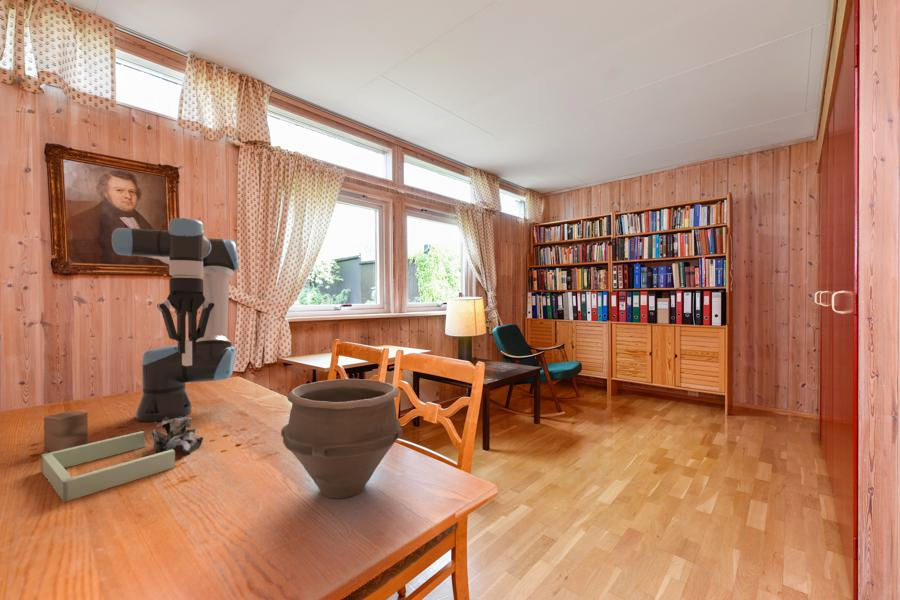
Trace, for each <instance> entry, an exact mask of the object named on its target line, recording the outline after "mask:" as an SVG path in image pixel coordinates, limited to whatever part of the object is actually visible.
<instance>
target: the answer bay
mask: <svg viewBox="0 0 900 600" xmlns="http://www.w3.org/2000/svg"><path fill="white" fill-rule="evenodd" d="M145 433H146V431H143V430H141V431H137V432H132V433H128V434H123V435H120V436H115V437H110V438H107V439H103V440H98V441H94V442H90V443H89V442H88V444H85V445H80V446H76V447H72V448H68V449H63V450H59V451H55V452H46V453H43V454H41V473H42V475H43V476H44V475H45V476H44V477H45V478H47V479H48V480H47V479H46V480H47V481H48V483H49V482H50V483H51V484H50V483H49V484H50V486H51V485H52V486H53V487H52V486H51V487H52V488H53V490H54V489H55V490H54V491H55V492H57V493H58V494H57V493H56V494H57V495H58V497H59V496H60V497H59V498H60V500H61V499H62V500H61V501H62V503H66V502H69V501H72V499H73V500H76V499H79V498H82V497H85V496H89V495H91V494H94V493H98V492H100V491H101V492H102V491H104V490H107V489H110V488H113V487H114V488H115V487H117V486H120V485H123V484H126V483H129V482H133V481H135V480H139V479H142V478H145V477H149V476H153V475H155V474H158V473H159V474H160V473H161V472H165V471H168V470H171V469H174V468H175V467H176V451H175V449H174V448H173V449H171V450H168V451H164V452H161V453H157V454H155V453H154V454H150V455H145V456H143V457H140V458H135V459H133V460H130V461H125V462H121V463H118V464H115V465H111V466H107V467H103V468H100V469H96V470H94V471H90V472H86V473H82V474H79V475H76V476H71V474H70V473H69V472H68V470H66V468H69V467H73V466H77V465H82V464H85V463H88V462H92V461H97V460H99V459H105V458H107V457H112V456H115V455H118V454H122V453H127V452H130V451H134V450H139V449H141V448H145V447H146V444H145V442H146V441H145V440H146V439H145Z"/></svg>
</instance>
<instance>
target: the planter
mask: <svg viewBox="0 0 900 600" xmlns="http://www.w3.org/2000/svg"><path fill="white" fill-rule="evenodd" d="M399 394H400V390H399V388H397V386H396V385H393V384H392V383H388V382H384V381H380V380H375V379H365V378H363V379H360V378H339V379H329V380H328V379H327V380H320V381H315V382H310V383H304V384H301V385H298V386H297V387H295V388H293V389H291V391H289V393H288V394H287V400H288V402H290V403H291V409H290V411H289V419H288V424H286V425H284V426H283V427H282V428H281V430H280V431H281V432H280V435H281V437H282V443H283V445H284V447H285V448H286V449H287V450H289V451H290V452H291V453H292V454H293V455H294V457H296V459H297V460H298V461H299V463H300V464H301V465H302V466H303V468H304V470H305V471H306V472H307V474H308V475H309V476H310V478H311V479H312V480H313V482H314V483H315V485H316V486H317V488H318V490H319V492H320V493H321V494H322V495H323V496H324V497H326V498H330V499H338V500H339V499H346V498H351V497H354V496H356V495H357V494H359V493H361V492H362V491H363V489H364V488H365V486H366V485H367V484H368V482H369V481H370V479H371V477H372V476H373V474H374V472H375V471H376V469H377V468H378V466H380V463H381V462H382V461H383V459H384V457H385V456H386V455H387V453H388V452H389V451H390V449H391V448H392V447H393V446H394V444H395V443H396V441H397V440H398V439H400V438H401V437H402V435H403V434H404V433H403V432H404V430H403V428H401V422H400V420H399V419H398V418H397V412H396V411H397V408H396V403H395V398H397V397H398V396H399Z"/></svg>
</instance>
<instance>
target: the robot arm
mask: <svg viewBox="0 0 900 600" xmlns="http://www.w3.org/2000/svg"><path fill="white" fill-rule="evenodd" d="M168 223H169V227H168V230H165V229H160V230H159V229H146V228H145V229H144V228H131V227H117V228H115V229H114V230H113V231H112V234H111V246H112V250H113V252H114V253H115V254H116V255H119V256H127V257H143V258H151V259H155V260H159V261H160V262H162V263H164V264H167V265H169V271H168V272H169V276H172V277H170V278H169V279H168V280H169V282H168V283H169V287H168V288H169V289H168V290H169V293H168V296H167V298H166V300H165V301H162V302H161V303H157V304H156V307H157V309H158V310H159V311H160V312H161V316H162V319H163V322H164V326H165V328H166V331H167V336H168V338H169V339H170V340H173V341H176V342H177V344H172V345H166V346H161V347H154V348H151V349H149V350H146V351H145V352H144V353H143V355H142V363H141V367H142V396H141V399H140V402H139V404H138V407H137V410H136V412H135V418H136V421H138V422H148V423H149V422H151V423H154V422H162V420H163V419H164V418H165V417H166V416H167V418H168V419H170V420H172V419H175V418H178V416H179V415H181V416H186V415H189V414H190V413H192V411H193V410H192V407H193V405H192V402H191V400H190V398H189V395H188V393H187V390H186V384H187V383H198V382H199V383H200V382H212V381H214V382H217V381H222V380H224V381H225V380H228V379H229V378H231V377H232V375H233V371H234V368H235V363H236V357H237V356H236V355H237V349H236V347H235V346H232V341H231V340H230V339H228V327H229V326H228V322H229V302H230V301H229V297H230V281H231V280H230V279H231V278H232V277H234V275H235V271H237V270H240V263H239V262H240V261H239V254H238V249H237V243H236V242H235V241H234V240H233V239H227V238H226V239H225V238H208V237H207V236H206V235H205V234H204V233H205V231H204V224H203V222H202V221H201V220H198V219H193V218H184V217H175V218H170V220H169V222H168ZM171 307H172V308H173V309H174V310H175V312H176V313H175V314H176V327H175V323H174V319H173V317H172V313H171V310H170V309H171ZM199 309H200V317H199V321H198V320H197V317H198V310H199ZM186 317H187V318H186ZM186 319H187V320H186ZM186 321H187V323H186ZM197 321H198V323H197ZM186 324H187V325H186ZM197 324H198V325H197ZM186 328H187V329H186ZM186 331H187V332H186ZM186 334H187V338H188V340H186Z"/></svg>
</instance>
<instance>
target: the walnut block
mask: <svg viewBox="0 0 900 600" xmlns="http://www.w3.org/2000/svg"><path fill="white" fill-rule="evenodd" d="M88 413H89V412H88V411H87V412H86V411H80V410H79V411H77V410H68V411H65V412H60V413H56V414H53V415H48V416H44V417H43V424H44V425H43V438H44V439H43V442H44V444H43V447H44V449H43V450H44V452H45V451H49V452H48V453H50V452H55V451H59V450H63V449H68V448H72V447H76V446H80V445H85V444H89V442H88V441H89V439H88V438H89V437H88V435H89V433H88V431H89V429H88V428H89V427H88V426H89V425H88V424H89V423H88Z"/></svg>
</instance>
